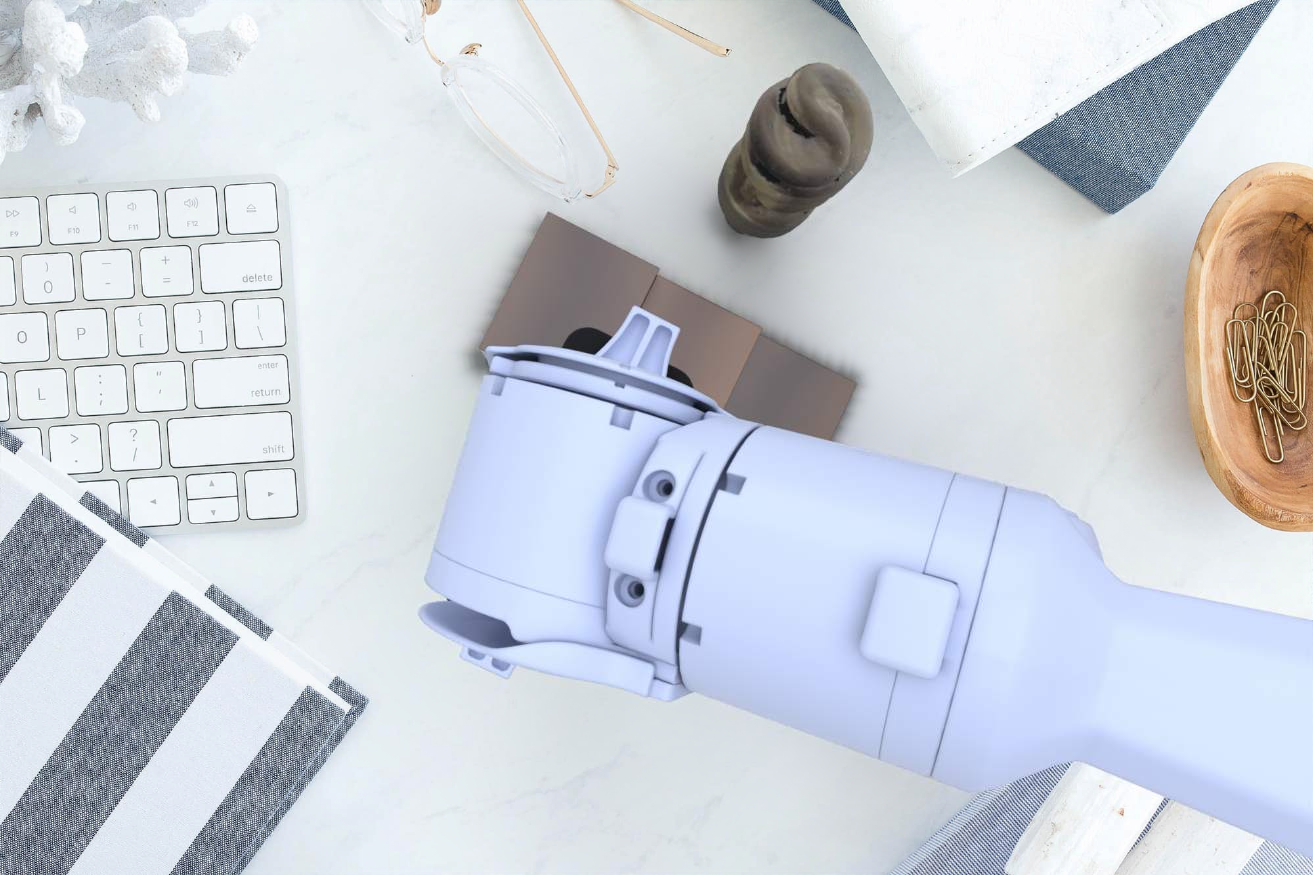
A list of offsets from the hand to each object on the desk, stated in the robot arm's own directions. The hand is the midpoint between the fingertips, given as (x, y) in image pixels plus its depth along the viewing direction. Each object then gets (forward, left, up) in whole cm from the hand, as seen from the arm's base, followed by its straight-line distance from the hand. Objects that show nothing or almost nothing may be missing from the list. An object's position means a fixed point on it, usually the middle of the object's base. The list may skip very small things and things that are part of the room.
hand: (569, 483), depth 43 cm
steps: (-3, -8, -9) cm, 12 cm away
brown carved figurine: (-3, -18, -9) cm, 21 cm away
